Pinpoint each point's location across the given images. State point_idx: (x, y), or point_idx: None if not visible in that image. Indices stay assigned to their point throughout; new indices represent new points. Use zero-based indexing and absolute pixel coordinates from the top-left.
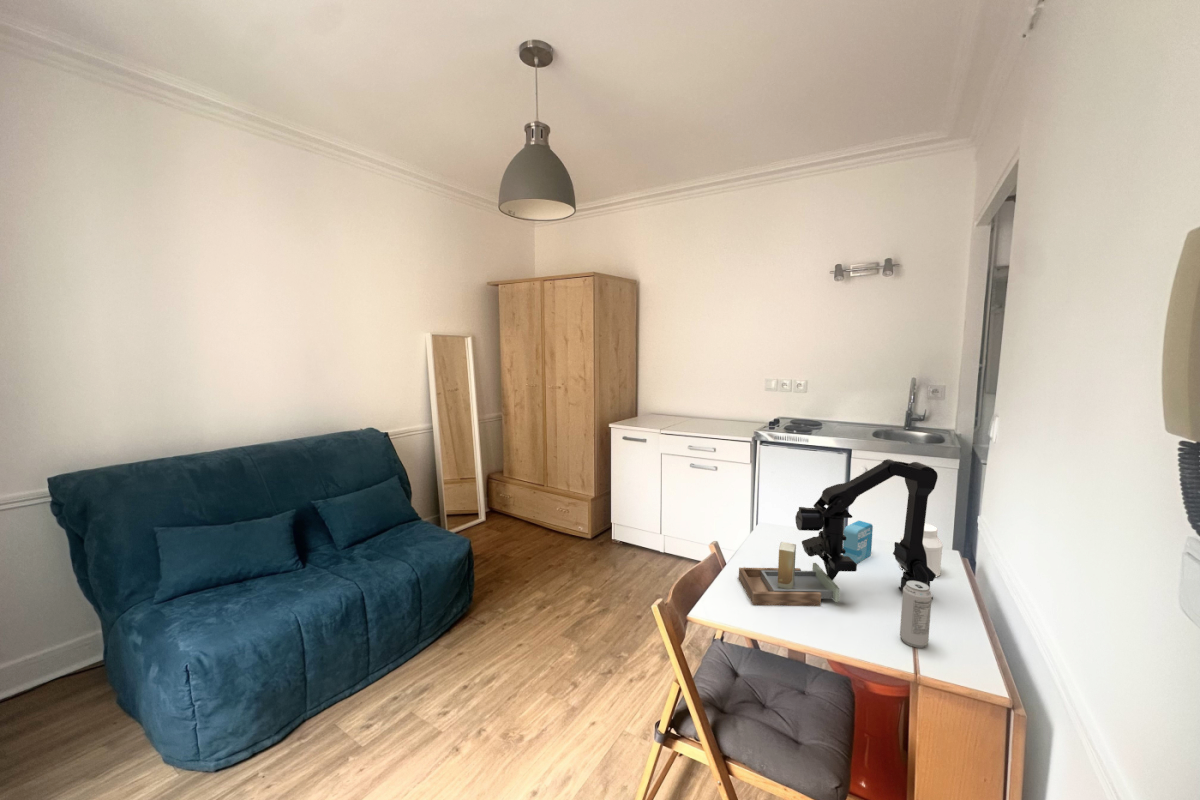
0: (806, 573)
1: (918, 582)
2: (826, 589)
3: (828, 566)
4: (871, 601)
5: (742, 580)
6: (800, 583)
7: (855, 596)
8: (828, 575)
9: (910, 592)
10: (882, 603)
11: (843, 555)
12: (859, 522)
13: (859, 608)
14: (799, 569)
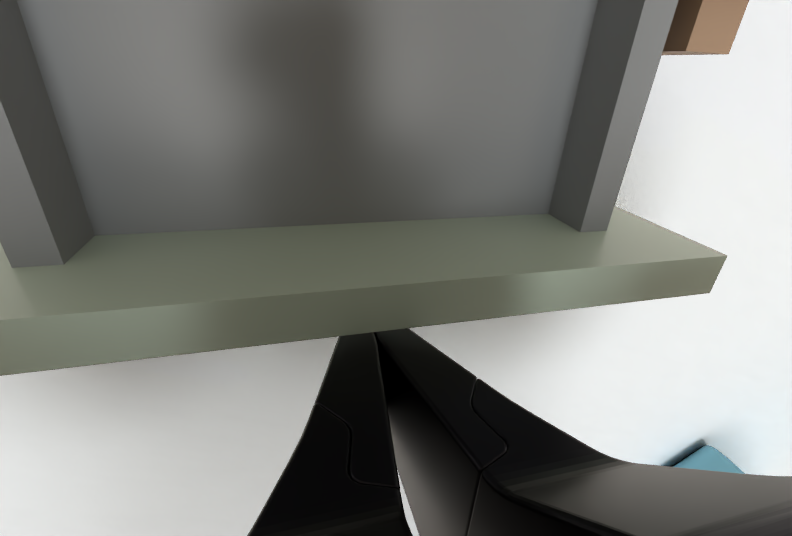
0: (597, 107)
1: None
2: (235, 220)
3: (310, 508)
4: (212, 484)
5: None
6: None
7: (276, 415)
8: (358, 345)
9: None
10: (195, 528)
11: (727, 466)
12: None
13: (48, 401)
14: (701, 33)
